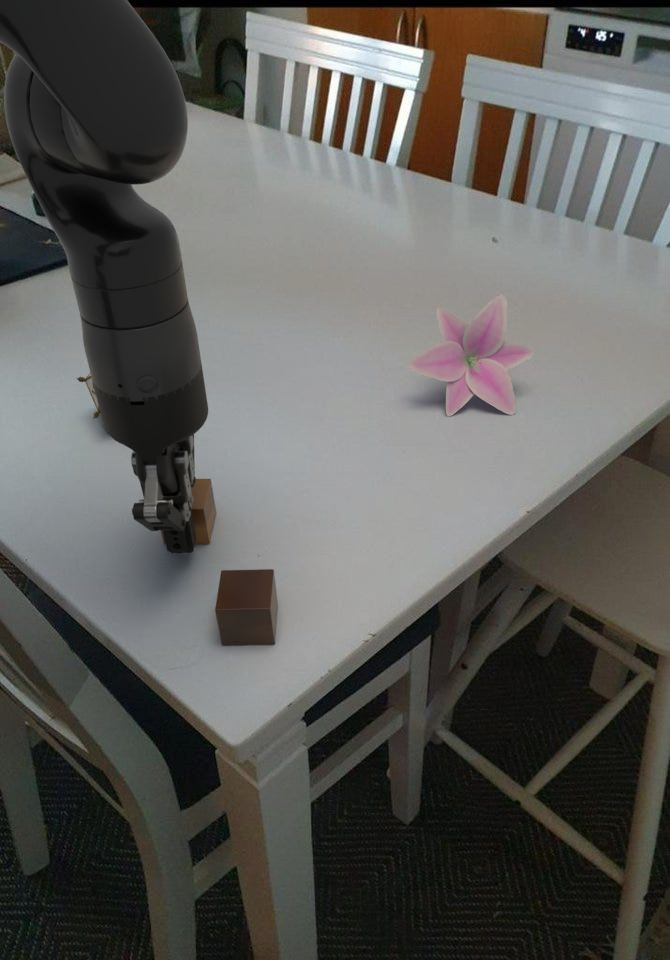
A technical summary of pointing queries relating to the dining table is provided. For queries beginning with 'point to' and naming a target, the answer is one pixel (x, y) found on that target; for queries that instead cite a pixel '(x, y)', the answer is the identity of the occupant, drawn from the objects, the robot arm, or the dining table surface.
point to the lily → (474, 358)
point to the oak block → (202, 511)
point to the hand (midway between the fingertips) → (182, 547)
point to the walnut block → (247, 607)
